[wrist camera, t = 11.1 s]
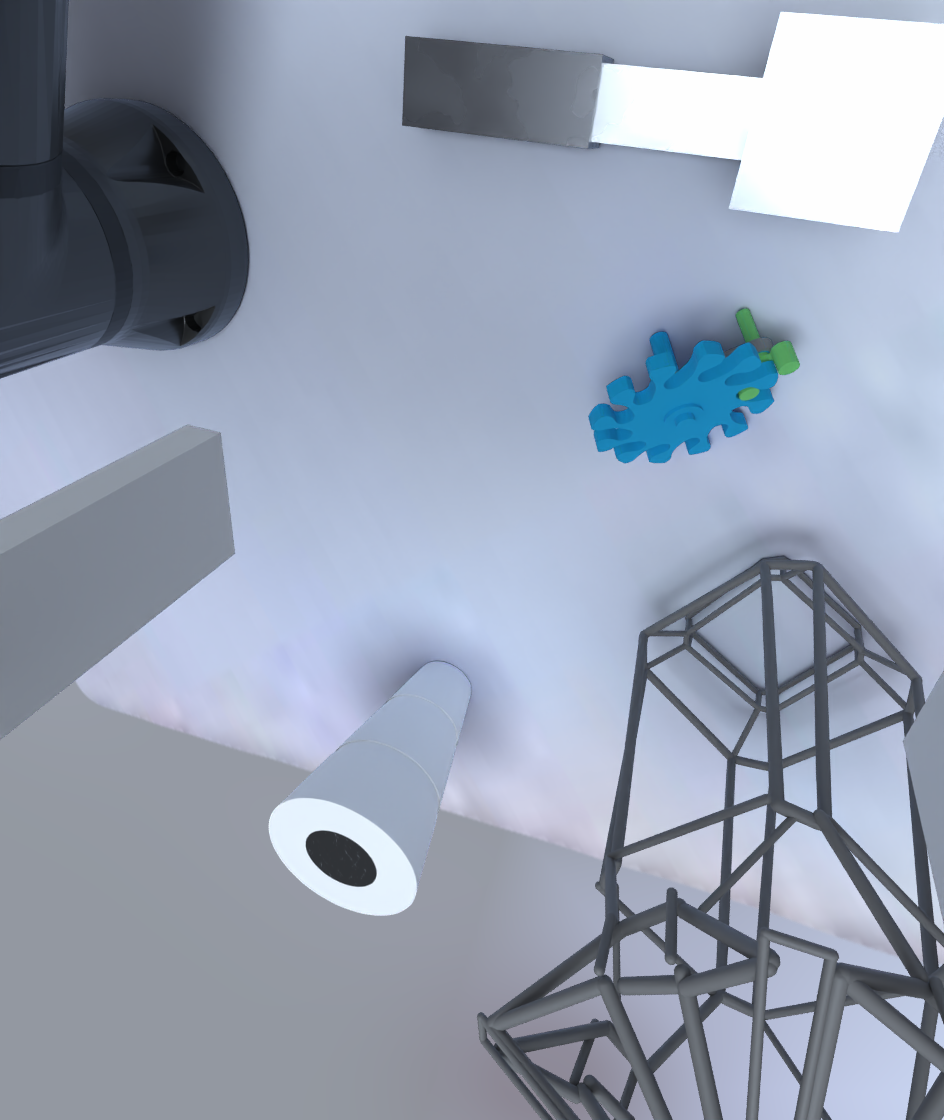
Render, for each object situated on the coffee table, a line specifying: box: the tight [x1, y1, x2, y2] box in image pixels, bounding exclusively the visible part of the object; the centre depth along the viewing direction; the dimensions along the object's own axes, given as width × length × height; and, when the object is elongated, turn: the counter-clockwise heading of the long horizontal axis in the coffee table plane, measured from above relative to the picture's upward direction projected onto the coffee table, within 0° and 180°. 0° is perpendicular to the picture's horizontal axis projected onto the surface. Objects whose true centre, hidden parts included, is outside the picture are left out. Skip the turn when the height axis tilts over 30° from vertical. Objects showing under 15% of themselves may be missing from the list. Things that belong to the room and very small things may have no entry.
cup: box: [269, 661, 471, 916], centre depth 53 cm, size 11×11×18 cm
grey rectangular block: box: [729, 12, 944, 233], centre depth 28 cm, size 6×6×8 cm
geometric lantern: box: [477, 556, 944, 1120], centre depth 33 cm, size 16×16×35 cm
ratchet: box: [402, 36, 763, 160], centre depth 33 cm, size 24×6×7 cm, turn 85°
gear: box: [588, 309, 800, 463], centre depth 39 cm, size 11×6×10 cm
